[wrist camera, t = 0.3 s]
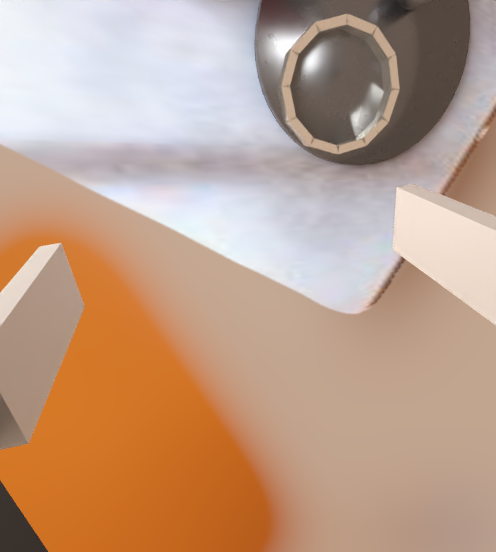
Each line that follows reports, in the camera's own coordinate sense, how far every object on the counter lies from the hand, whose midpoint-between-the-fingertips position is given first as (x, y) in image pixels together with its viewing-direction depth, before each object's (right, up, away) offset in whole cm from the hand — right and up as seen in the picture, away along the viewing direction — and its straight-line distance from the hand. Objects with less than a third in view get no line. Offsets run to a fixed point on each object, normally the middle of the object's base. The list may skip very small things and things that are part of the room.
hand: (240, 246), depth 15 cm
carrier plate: (+12, +21, +23) cm, 33 cm away
